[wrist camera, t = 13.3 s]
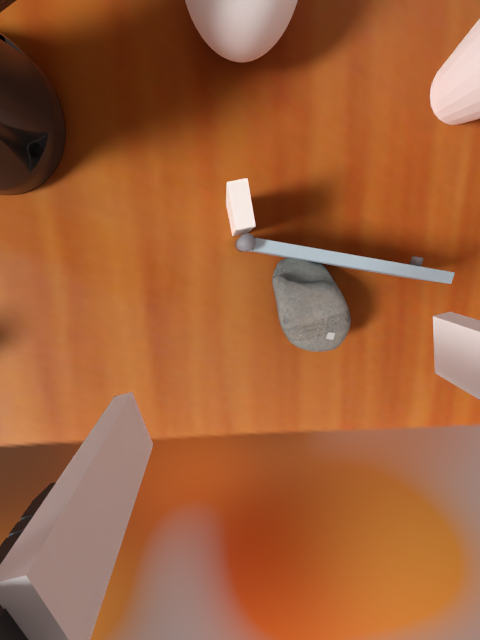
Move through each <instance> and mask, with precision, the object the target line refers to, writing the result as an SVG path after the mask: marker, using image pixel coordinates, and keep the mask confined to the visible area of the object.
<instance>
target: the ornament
mask: <svg viewBox="0 0 480 640" xmlns="http://www.w3.org/2000/svg"><path fill="white" fill-rule="evenodd" d="M297 1H298V0H185V2H186V5H187V8H188V11H189V14H190V16H191V19H192V21H193V23H194V25H195V27H196V29H197V30H198V32H199V34H200V35H201V37H202V38H203V39H204V41H205V42H206V43H207V44H208V46H209V47H210V48H211V49H212V50H214V51H215V52H216V53H217V54H219V55H220V56H222V57H224V58H225V59H228V60H230V61H234V62H241V63H242V62H250V61H253V60H255V59H258V58H259V57H261V56H263V55H264V54H266V53H267V52H268V51H269V50H270V49H271V48H272V47H273V46H274V45H275V44H276V43H277V42H278V40H279V39H280V38H281V36H282V35H283V33H284V31H285V30H286V28H287V26H288V24H289V22H290V20H291V18H292V15H293V13H294V10H295V7H296V4H297Z"/></svg>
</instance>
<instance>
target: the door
mask: <svg viewBox="0 0 480 640" xmlns="http://www.w3.org/2000/svg"><path fill="white" fill-rule="evenodd" d="M235 247H236V249H237V250H238V251H241V252H242V251H251V252H257V253H263V254H269V255H274V256H280V257H286V258H292V259H299V260H305V261H310V262H316V263H322V264H327V265H333V266H339V267H345V268H351V269H357V270H363V271H369V272H375V273H381V274H386V275H392V276H398V277H404V278H411V279H418V280H426V281H433V282H440V283H447V284H451V283H452V280H453V277H454V274H455V273H454V272H448V271H443V270H437V269H431V268H426V267H421V265H422V262H423V259H424V258H422V257H414V256H412V257H411V261H410V264H409V265H408V264H403V263H397V262H391V261H385V260H380V259H374V258H368V257H363V256H357V255H351V254H345V253H340V252H334V251H328V250H323V249H317V248H311V247H305V246H300V245H294V244H288V243H282V242H277V241H271V240H265V239H260V238H255V237H254V236H253V235H251V234H248V233H247V234H243V235H242V236H241V237H240V238H239V239H238V240H237V241H236V243H235Z"/></svg>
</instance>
